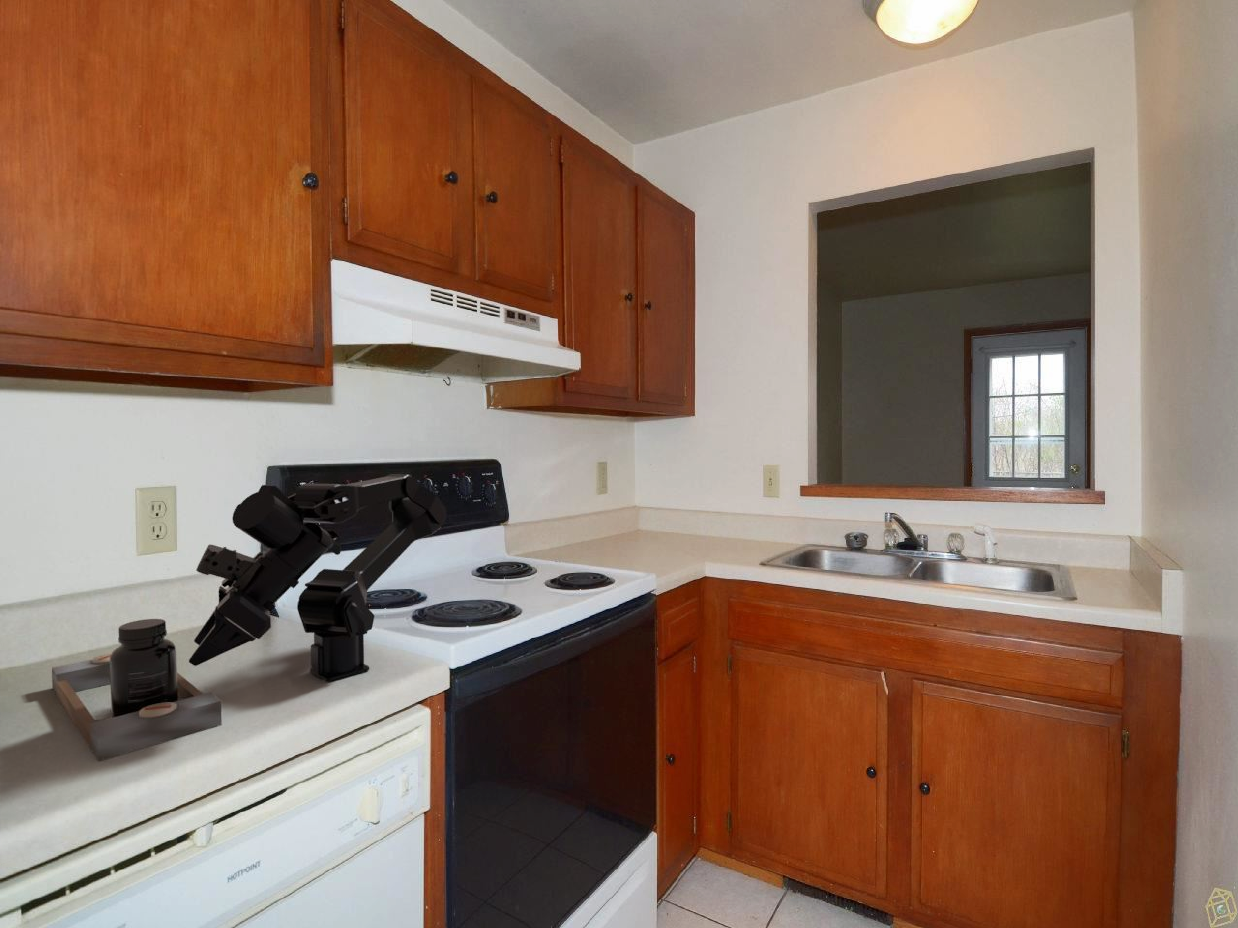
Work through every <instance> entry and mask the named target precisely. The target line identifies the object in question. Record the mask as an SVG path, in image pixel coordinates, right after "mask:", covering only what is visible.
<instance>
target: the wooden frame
mask: <svg viewBox="0 0 1238 928" xmlns="http://www.w3.org/2000/svg"><path fill="white" fill-rule="evenodd" d="M111 654H112V653H107V654H106V653H105V654H102V655H99V656H95V657H93V658H92V659H87V660H83V661H78V662H73V663H68V664H63V665H59V666H58V665H57V666H54V667H53V666H52V667H51V682H52V685H51V686H52V691H53V692H54V693H55V695H56V696H57V698H58V700H59V701H60V704H61V705H62V706H63V708H64V709H65V711H66V713H67V714H68V715H69V718H70V719H71V720H72V722H73V723H74V726H75V727H76V728H77V730H78V732H79V733H80V735H81V736H82V738H83V740H84V741H85V742H86V743H85V744H87V746H88V748H89V749H90V751H91V753H92V754H93V755H94V757H95V759H96V760H97V762H100V761H103V760H104V761H105V760H107V759H111V758H114V757H117V756H121V755H125V754H127V753H130V752H135V751H137V750H138V751H139V750H142V749H145V748H148V747H151V746H154V745H158V744H160V743H165V742H168V741H170V740H171V741H172V740H175V739H178V738H181V737H185V736H188V735H191V734H195V733H198V732H201V731H205V730H207V729H208V728H209V729H212V728H215V726H216V727H218V725H219V726H222V700H221V699H219V697H217V696H215V694H213V693H212V692H207V693H206V692H205V693H203V692H202V691H200V690H199V689H198V688H197V687H196V686H194V685H193V684H192V683H190V682H189V681H188V680H187V679H186V678H185V677H184V676H182V675H181V673H179V672H177V689H178V697H179V698H180V699H179V700H178V701H175V702H164V703H158V704H153V705H150V706H147V707H145V708H143V709H141V710H140V711H137V712H133V713H129V714H125V715H121V716H118V717H114V718H112V717H110V718H106V719H103V720H99V721H96V720H95V718H94V717H93V715H92V713H91V712H90V711H89V710H88V709H87V707H86V705H85V704H84V703H83V701H82V700H81V697H79V696H78V694H77V693H76V692H82V691H85V690H90V689H94V688H98V687H103V686H107V685H110V663H109V662H110V656H111ZM209 729H208V730H209Z"/></svg>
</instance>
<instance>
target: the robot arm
mask: <svg viewBox="0 0 1238 928" xmlns="http://www.w3.org/2000/svg"><path fill="white" fill-rule="evenodd" d="M387 502H388V510H389V511H390V512H391V514H392V517H391V518H392V519H391V520H392V521H391V524H389V526H387V527H386V529H384V530H383V531H382V532H381V533H380V534H379V535H378V536H377V537H375V539H374V540H373V541H372V542H370V544H368V545H367V546H366V547H365V548H364V549H363V550H362V551H361V552H360V553H359V554H358V555H357V556H356V557H354V559H352V561H351V562H350V563H349V564H348V565H346V566H345V567H344V568H343V569H332V568H331V569H329V568H323V569H321V570H320V571H319V572H318V573H317V574H316V576H315V577H314V578H313V579H312V580H311V581H308V582H305V584H304V587H306V588H304V590H303V591H302V592H301V593H300V595H299V596H298V601H297V608H296V609H297V612H298V616H299V618H300V621H301V625H302V627H303V630H304V632H305V633H306V634H310V633H312V634H313V644H311V645H310V668H309V672H310V673H312V674H314V675H315V676H317V677H318V678H320V679H323V680H324V681H327V682H331V681H334V680H339V679H342V678H345V677H346V678H347V677H349V676H353V675H356V674H360V673H363V672H366V671H369V670H370V666H369V665H367V664H366V663H365V647H364V646H365V645H364V643H365V642H364V639H365V637H364V635H367V634H368V631H371V630H372V629H373V626H374V625H373V624H374V620H375V614H374V613H373V612H372V610H370V609H369V608H368V607H367V597H368V596H367V595H368V594H367V593H368V590H369V589H370V588H371V587H372V586H373V585H374V584H375V583H376V582H377V581H378V580H379V579H380V578H381V577H382V575H384V573H386V571H387V570H388V569H389V568H390V567H391V566H392V565H393V564H394V563H395V562H396V561H397V560H398V559H399V557H400V556H402V554H403V553H404V552H405V551H406V550H408V548H409V547H410V546H411V545H412V544H413V543H414V542H415V541H417V540H420V539H423V538H425V537H429V536H431V535H433V534H435V533H436V532H437V531H439V530H440V529H441V528H442V527H443V525H444V524H445V521H446V520H447V515H448V512H447V508H446V506H445V504H444V503H443V502H442V501H441V499H440V498H439V496H438V494H436V493H435V492H433V491H432V490H430V489H429V488H427V487H426V486H424V485H422V484H421V483H420V482H419V480H418V479H417V478H416V477H415V476H412V474H402V473H401V474H399V473H398V474H395V473H394V474H389V475H386V476H383V477H377V478H373V479H367V480H363V481H357V482H352V483H347V484H345V483H344V484H341V483H339V484H338V483H304V484H301V485H299V486H298V487H297V488H296V493H295V492H294V493H293V494H291V495H289V496H287V495H286V494H285V493H283V492H282V490H281V489H280V488H279V487H277V486H276V485H275V484H262V485H261V487H260V488H259V490H258V491H257V492H254V493H252V494H250V495H249V496H247V497H246V498H244V500H242V501H241V502H240V503H239V504H237V505H236V507H235V508H234V511H233V514H232V523H233V525H234V526H235V528H237V529H239V530H240V531H242V532H243V533H244V534H246V535H248V536H249V537H251V538H252V539H254V540H255V541H257V542H258V543H260V544H261V545H263V546H264V547H266V548H267V550H266V551H265V550H263V551H259V552H258V553H257V554H255V556H253V557H252V556H248V555H246V554H243V553H239V552H237V550H236V549H233V550H232V549H229V548H228V547H227V546H224V547H221V546H218V545H214V544H208V545H207V547H206V549H205V551H204V553H203V555H202V557H201V559H200V560H199V563H198V565H197V567H196V572H197V573H199V574H203V575H205V576H209V575H211V576H215V577H219V578H222V579H223V580H222V581H221V585H220V586H219V587H218V604H217V605H216V606H215V608H214V610H213V611H212V613H211V615H210V616H209V618H208V619H207V620H206V622H205V623H204V624H203V626H202V628H201V630H200V631H199V632H198V633H197V635H196V636H195V638H194V639H193V641H194V643H195V644H196V645H198V647H197V648H196V649H195V651H194V652H193V653H192V655H191V656H190V657H189V659H188V662H189V664H190V665H192V666H195V667H197V666H199V665H201V664H203V663H205V662H207V661H209V660H212V659H214V658H216V657H218V656H221V655H223V654H224V653H226V652H229V651H231V650H233V649H235V648H236V649H237V647H240V646H242V645H245V644H247V643H250V642H254V641H255V640H256V639H258V640H260V639H261V638H262V637H263V636H264V635H265V634H266V633H267V632H268V631H269V630H270V629H271V628H272V625H271V624H272V623H271V621H272V619H271V612H272V610H274V608H276V603H277V602H278V601H279V600H280V599H281V597H283V596H284V594H286V593H287V591H289V589H291V588H292V589H294V588H295V587H296V586H297V585H298V584H299V583H300V582H299V579H300V578H301V577H302V576H303V575H304V574H305V573H306V572H307V571H308V570H309V569H310V568H312V566H313V565H314V564H315V563H316V562H317V561H318V560H319V559H320V558H321V557H322V556H323V555H324V554H325V553H326V552H327V551H328V550H329V551H330V552H332V553H333V554H335V556H336V555H337V556H338V555H340V554H341V539H342V536H340V535H339V534H338V533H337V532H336V531H335V530H334V529H333V530H331V529H330V530H325V528H322V526H320V525H319V524H342V523H344V522H346V521H348V520H350V519H352V518H353V517H355V516H356V515H357V514H358V512H359V511H361V509H364V508H368V507H371V506H376V505H379V504H380V505H381V504H384V503H387ZM318 523H319V524H318Z"/></svg>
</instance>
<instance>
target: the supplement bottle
mask: <svg viewBox="0 0 1238 928" xmlns="http://www.w3.org/2000/svg"><path fill="white" fill-rule="evenodd" d="M166 623H167V622H166V620H164V619H163V618H146V619H145V618H144V619H139V620H134V621H130V622H127V623H123V624H122V625H119V627H118V629H117V630H118V631H117V632H118V639H117V641H118V643H119V644H120V645H119V646H118V647H116V648H115V649H114V650H112V653H110V654H111V656H110V662H109V663H110V684H109V685H110V705H111V706H110V708H111V718H114V717H118V716H121V715H125V714H129V713H133V712H137V711H140V710H141V709H143V708H145V707H147V706H150V705H153V704H158V703H164V702H175V701H179V700H178V699H179V698H178V689H177V673H178V667H177V666H178V665H177V663H178V662H177V647H176V645H175V643H174V642H173V641H171V640H170V639H167V638H165V637H166V636H167V635H168V629H167V626H166Z"/></svg>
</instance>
